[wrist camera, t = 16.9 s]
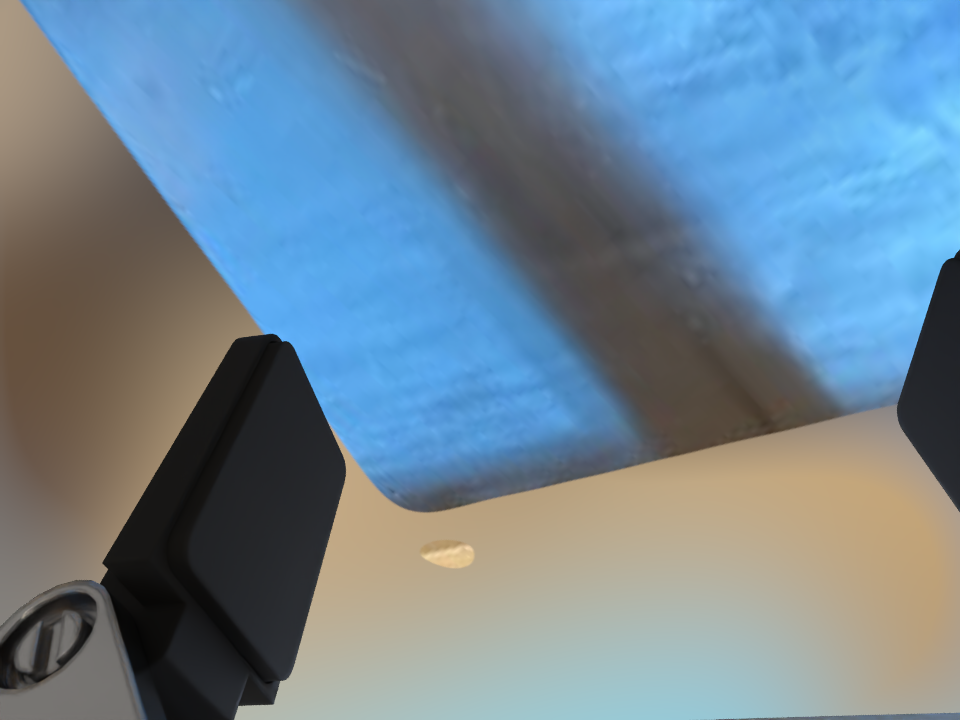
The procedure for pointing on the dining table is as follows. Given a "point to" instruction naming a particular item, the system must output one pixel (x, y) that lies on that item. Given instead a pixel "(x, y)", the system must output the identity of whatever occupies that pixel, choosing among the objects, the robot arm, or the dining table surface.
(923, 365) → the robot arm
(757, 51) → the dining table surface
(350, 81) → the dining table surface
